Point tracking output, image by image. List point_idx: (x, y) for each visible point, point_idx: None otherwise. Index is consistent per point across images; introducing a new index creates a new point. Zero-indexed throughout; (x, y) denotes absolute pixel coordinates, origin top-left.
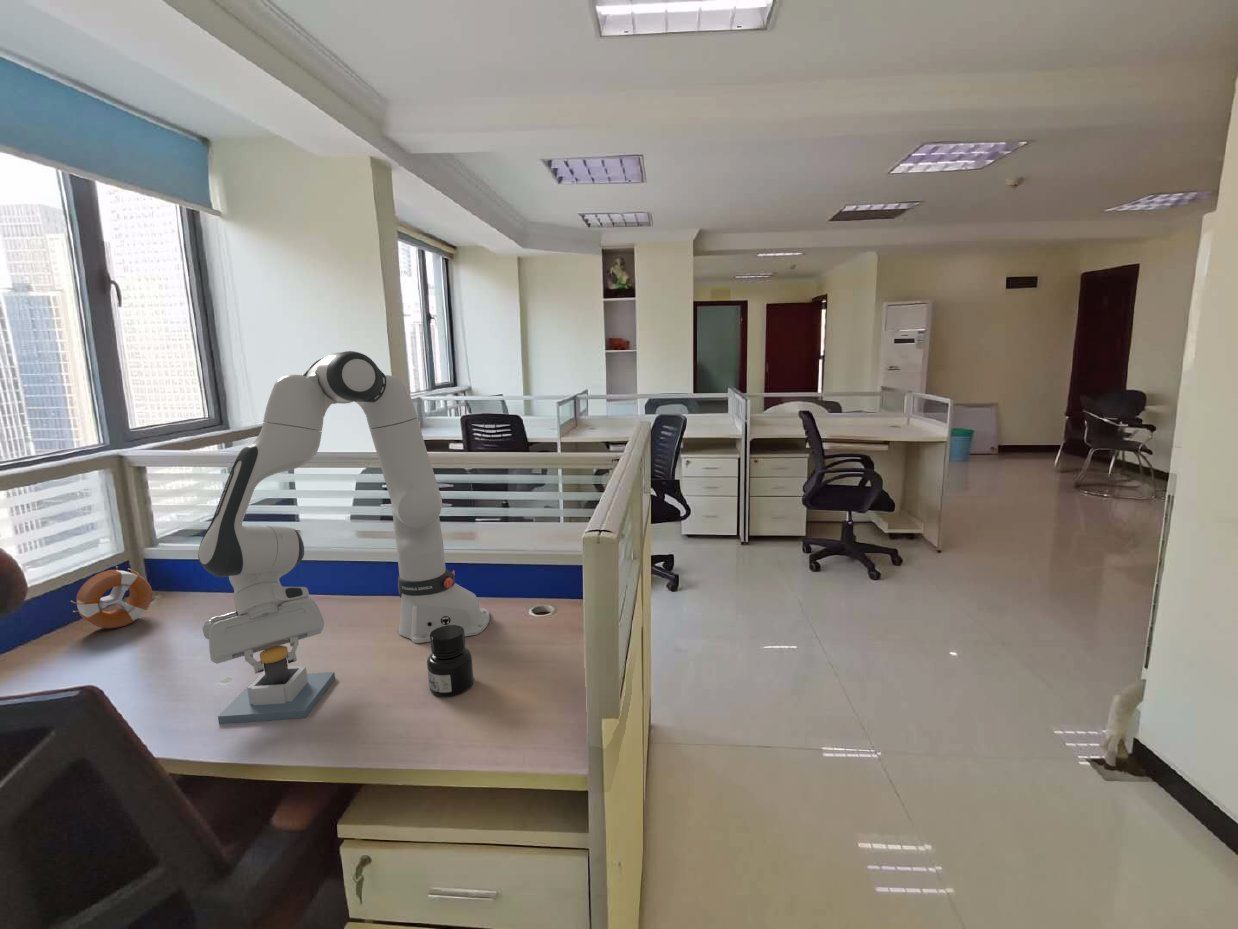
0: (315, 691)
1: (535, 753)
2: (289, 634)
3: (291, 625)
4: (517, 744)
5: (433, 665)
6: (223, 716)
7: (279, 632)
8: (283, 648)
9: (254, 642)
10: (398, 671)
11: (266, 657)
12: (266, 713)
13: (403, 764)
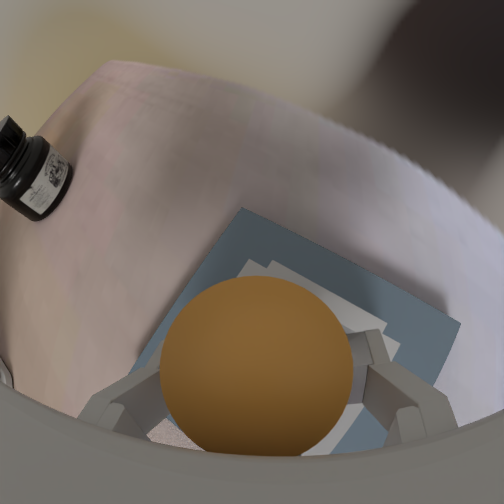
0: (192, 295)
1: (106, 72)
2: (86, 434)
3: (33, 472)
4: (103, 81)
5: (38, 144)
6: (448, 316)
7: (122, 486)
8: (180, 372)
9: (390, 476)
10: (53, 295)
11: (310, 295)
12: (337, 255)
13: (178, 70)
